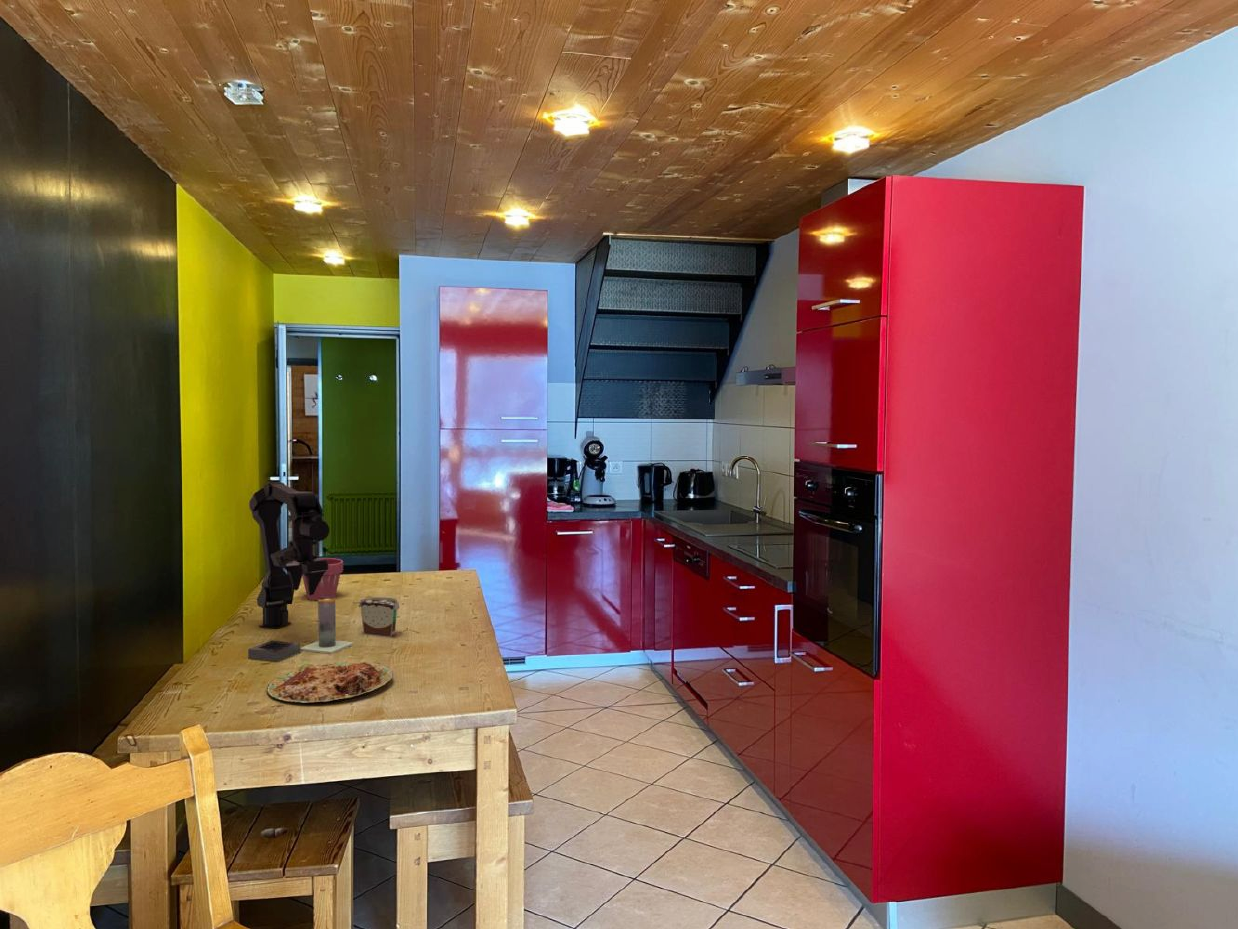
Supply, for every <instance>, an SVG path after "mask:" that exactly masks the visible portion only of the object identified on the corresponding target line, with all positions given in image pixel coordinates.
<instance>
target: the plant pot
mask: <svg viewBox="0 0 1238 929" xmlns="http://www.w3.org/2000/svg"><path fill="white" fill-rule="evenodd" d="M319 558H320V559H324V560H326V561H327V562H328V563H329V570H326V572H325V573H324V575H323V576H322V578H321V580H320V582H319V584H318V586H317V588H316V590H315V592H314V594H313V595H309V592H308V585H307V578H306V576H305V575H304V574H303V575H302V580H303V585H304V586H303V587H304V590H305V593H306V599H307V600H309V601H313V600H318V598H319V597H323V596H334V597H336V595H337V590H338V587H339V584H340V583H339V581H340V578H341V574H342V573H343V571H344V561H343V560H342V559H340V558H333V557H332V558H331V557H322V558H321V557H319ZM319 558H318V557H317V559H319ZM303 572H304V571H303Z"/></svg>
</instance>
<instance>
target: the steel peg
mask: <svg viewBox="0 0 1238 929" xmlns="http://www.w3.org/2000/svg"><path fill="white" fill-rule="evenodd" d="M336 602H337V601H336V596H335V597H334V596H323V597H319V598H318V601H317V607H318V608H317V610H318V611H317V612H318V614H317V615H318V616H317V617H318V619H317V621H318V626H317V627H318V631H317V632H318V633H317V634H318V641H319V647H323V648H327V647H333V646H335V645H336V641H337V640H336V639H337V636H336V635H337V634H336V633H337V631H336V629H337V628H336V626H337V624H336V618H337V617H336V609H337V608H336Z"/></svg>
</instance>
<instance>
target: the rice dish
mask: <svg viewBox="0 0 1238 929" xmlns="http://www.w3.org/2000/svg"><path fill="white" fill-rule="evenodd" d="M393 677H394V672H393V670H392V669H391V668H390V666H386V665H383V664H381V663H379V662H377V661H375V662H368V661H366V660H365V661H340V662H331V663H324V664H318V665H313V664H312V663H305V664H302V665H300V667H299V669H298V670H294V671H292V672H288V673H285V674H283V675H281V676H279V677H277V678H275V679H273V680H272V681H271V682H270V683H269V684H268V685H267V687H266V692H267V693H268V695H269V696H270V697H272V698H274V699H276V700H281V701H283V702H289V703H301V704H310V703H311V704H312V703H321V702H325V703H326V702H330V701H335V700H342V699H352V698H355V697H358V696H361V695H363V694H366V693H369V692H372V691H374V690H377V689H378V688H380V687H382V686H384V685H386V683H387V684H388V682H389V681H391V680H392V678H393ZM345 694H348V695H350V696H346V695H345Z"/></svg>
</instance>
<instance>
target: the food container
mask: <svg viewBox="0 0 1238 929" xmlns="http://www.w3.org/2000/svg"><path fill="white" fill-rule="evenodd" d="M358 607H359V608H360V613H361V622H362V631H363V632H362V634H363V636H365V635H366V636H372V637H373V636H375V637H380V638H381V637H382V638H389V637H390V638H394V637H395V636H394V635H395V634H396V626H397V625H396V623H397V613H398V610H399V609H400V604H399V601H398V599H397V598H394V597H385V596H384V597H383V596H382V597H381V596H380V597H378V596H377V597H376V596H375V597H367V598H363V599H360V600H359V604H358ZM393 636H394V637H393Z"/></svg>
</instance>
